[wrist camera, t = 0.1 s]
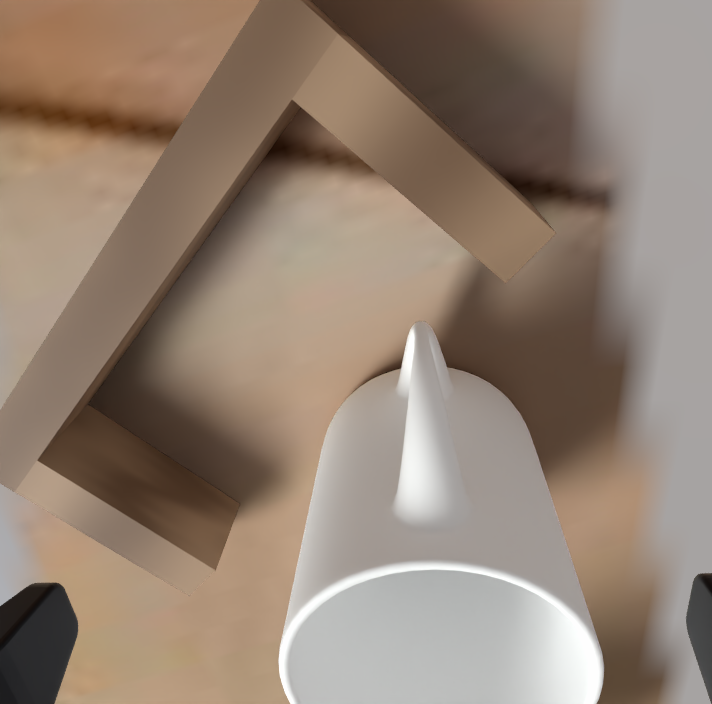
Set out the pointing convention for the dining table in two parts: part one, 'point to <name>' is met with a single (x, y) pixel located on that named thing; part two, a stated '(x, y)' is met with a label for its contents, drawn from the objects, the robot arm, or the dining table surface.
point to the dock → (182, 241)
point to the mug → (435, 554)
